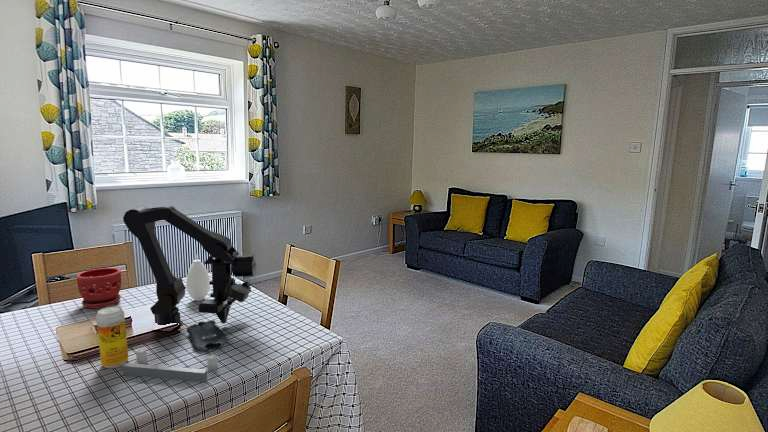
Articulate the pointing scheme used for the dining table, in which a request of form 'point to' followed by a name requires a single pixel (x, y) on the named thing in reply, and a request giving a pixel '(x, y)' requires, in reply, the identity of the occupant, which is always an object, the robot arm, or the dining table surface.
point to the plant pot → (99, 287)
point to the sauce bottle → (198, 280)
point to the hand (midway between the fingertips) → (224, 322)
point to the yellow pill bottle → (112, 336)
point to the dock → (168, 369)
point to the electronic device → (206, 335)
